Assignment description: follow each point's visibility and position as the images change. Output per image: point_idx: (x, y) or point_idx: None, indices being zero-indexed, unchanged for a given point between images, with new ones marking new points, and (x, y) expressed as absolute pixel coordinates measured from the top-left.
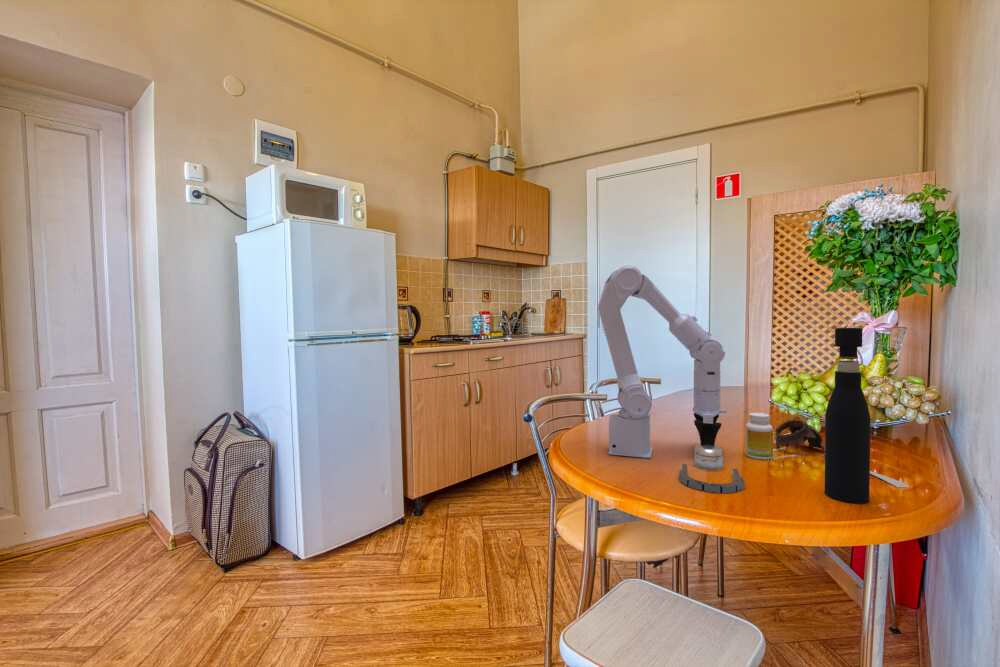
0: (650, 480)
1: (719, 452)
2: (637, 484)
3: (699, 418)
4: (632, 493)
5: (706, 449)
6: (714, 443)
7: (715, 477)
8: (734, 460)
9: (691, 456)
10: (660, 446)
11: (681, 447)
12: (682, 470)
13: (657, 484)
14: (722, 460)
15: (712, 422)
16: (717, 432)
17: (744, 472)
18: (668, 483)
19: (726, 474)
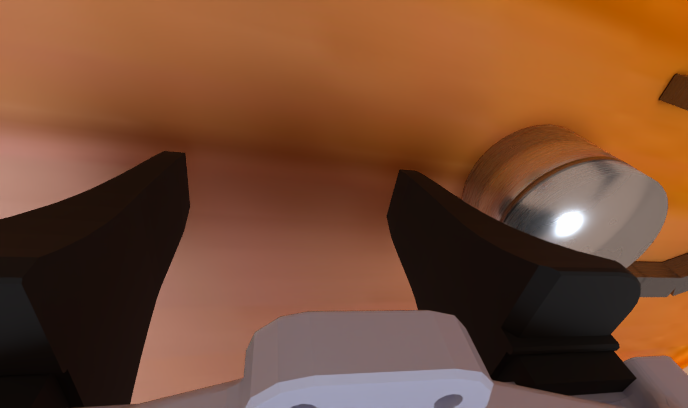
0: (617, 336)
1: (660, 194)
2: (634, 354)
3: (119, 384)
4: (683, 355)
5: (604, 253)
6: (451, 194)
7: (662, 176)
8: (430, 22)
9: (370, 239)
10: (228, 340)
11: (210, 273)
12: None
13: (651, 322)
14: (598, 147)
15: (675, 369)
16: (544, 241)
17: (653, 22)
18: (655, 302)
19: (646, 125)
